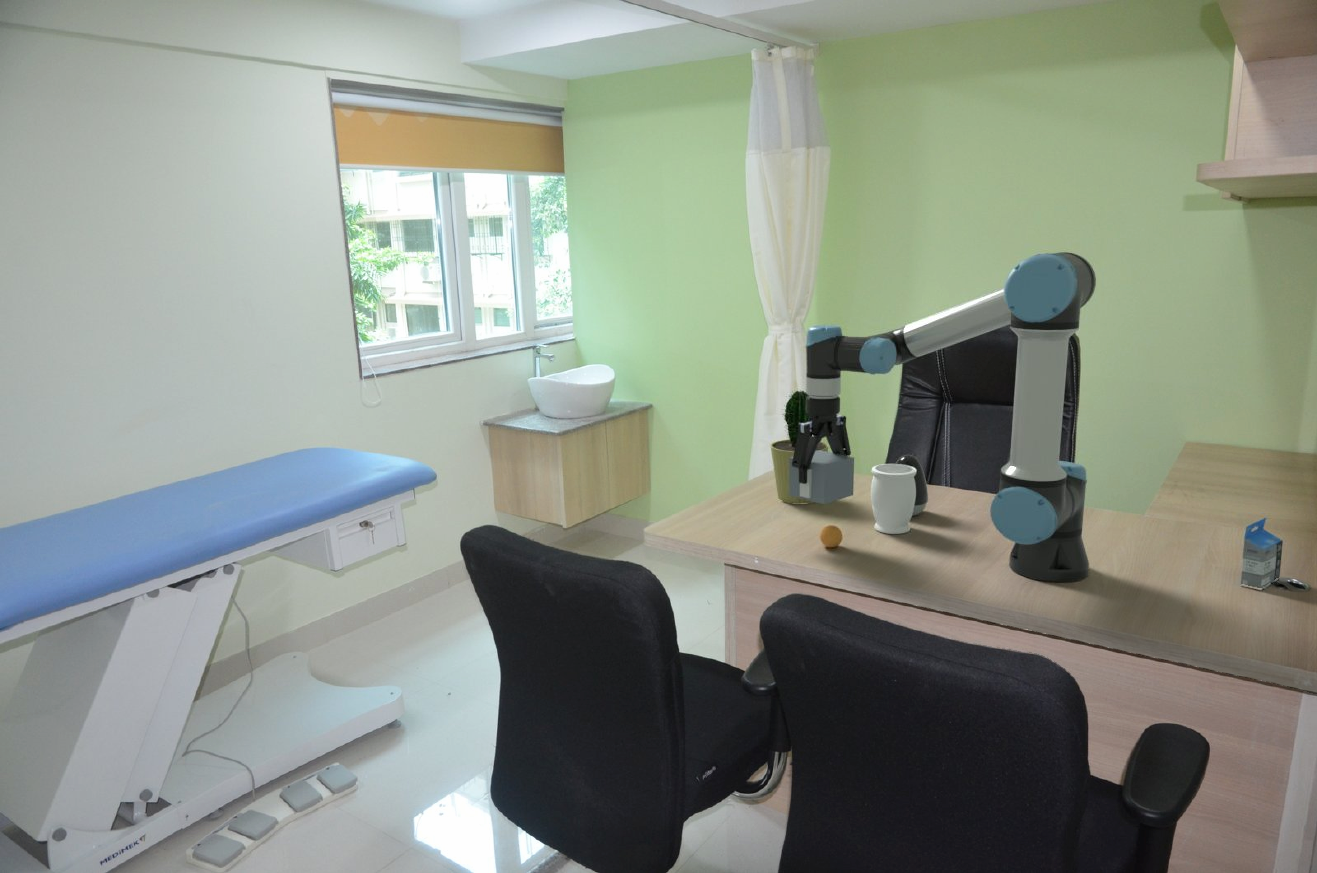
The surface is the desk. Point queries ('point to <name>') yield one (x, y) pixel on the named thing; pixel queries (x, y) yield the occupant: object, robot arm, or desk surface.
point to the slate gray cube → (825, 477)
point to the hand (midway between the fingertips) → (821, 492)
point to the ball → (831, 536)
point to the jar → (893, 497)
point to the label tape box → (1260, 556)
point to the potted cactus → (790, 445)
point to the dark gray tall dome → (917, 482)
